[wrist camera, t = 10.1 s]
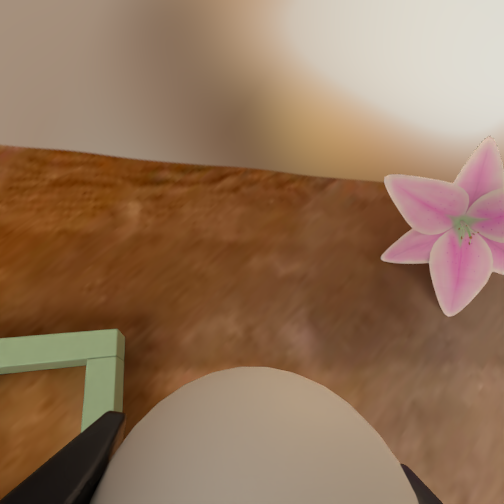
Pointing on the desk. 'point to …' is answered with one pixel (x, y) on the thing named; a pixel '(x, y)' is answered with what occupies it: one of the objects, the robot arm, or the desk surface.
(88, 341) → the frame
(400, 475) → the lightbulb
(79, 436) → the robot arm
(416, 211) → the lily
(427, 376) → the desk surface
